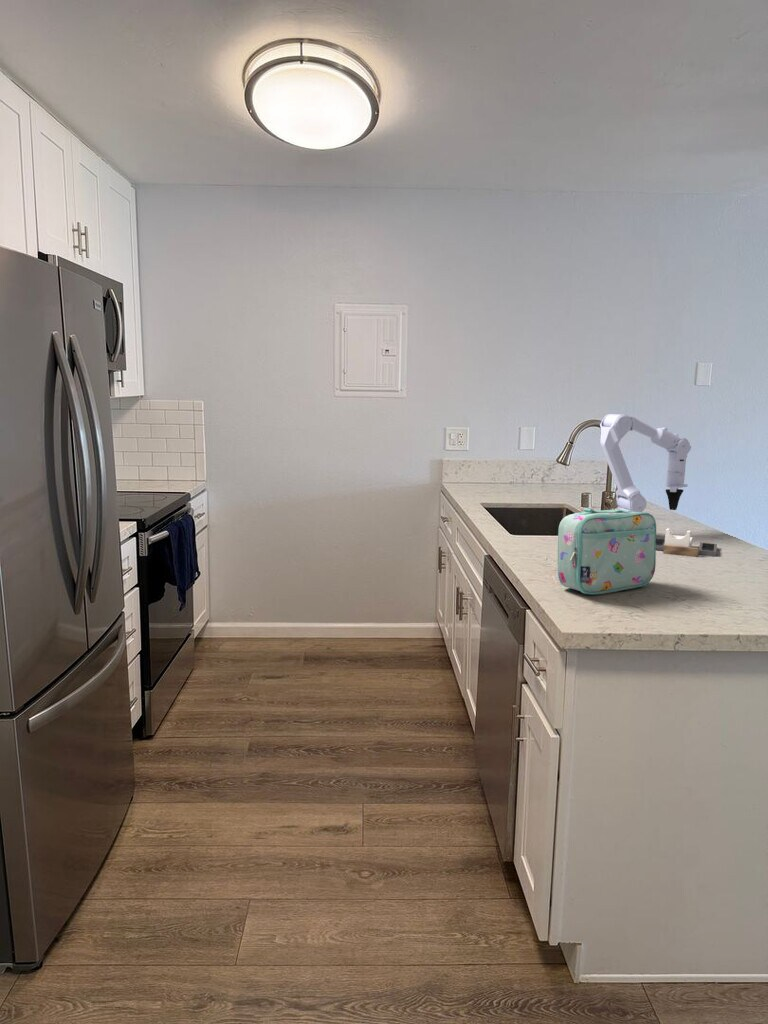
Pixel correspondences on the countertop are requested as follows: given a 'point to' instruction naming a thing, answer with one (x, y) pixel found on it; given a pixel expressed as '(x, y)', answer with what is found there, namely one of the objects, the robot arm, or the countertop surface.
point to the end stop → (680, 550)
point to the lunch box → (606, 550)
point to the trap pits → (704, 548)
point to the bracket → (678, 539)
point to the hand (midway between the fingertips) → (672, 509)
